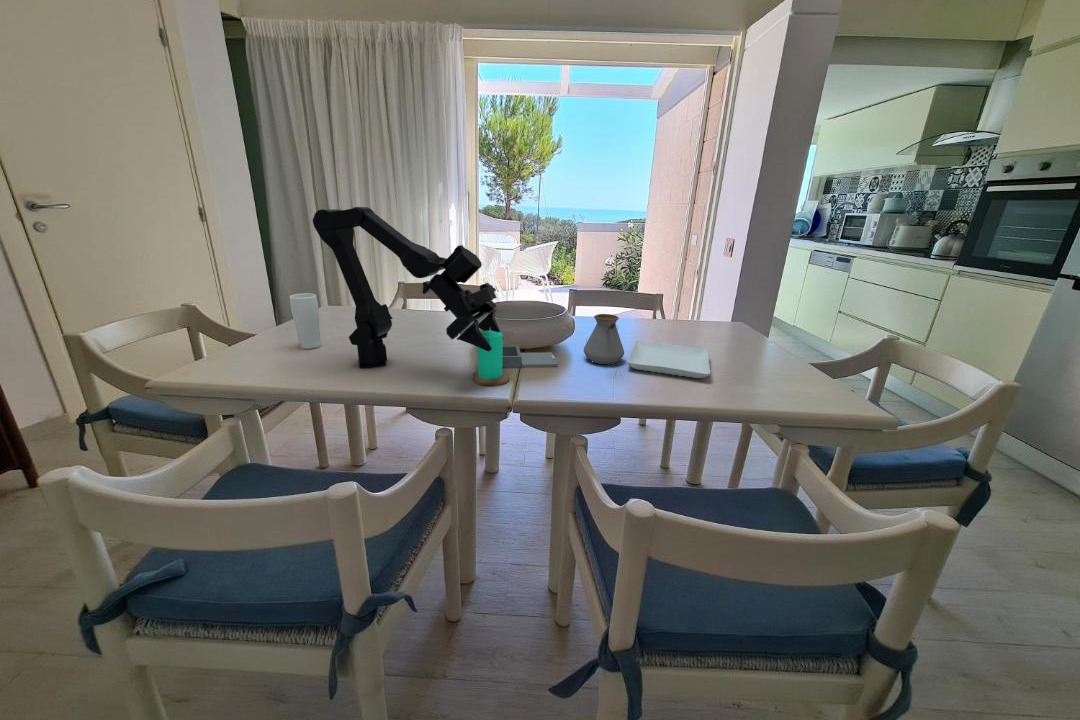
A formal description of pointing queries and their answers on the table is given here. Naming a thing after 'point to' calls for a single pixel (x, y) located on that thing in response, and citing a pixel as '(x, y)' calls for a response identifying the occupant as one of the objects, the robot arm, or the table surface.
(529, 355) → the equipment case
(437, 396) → the table surface
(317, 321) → the drinking glass
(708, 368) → the salad plate
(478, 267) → the robot arm
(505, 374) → the coaster
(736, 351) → the table surface
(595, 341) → the coffee pot
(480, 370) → the candle
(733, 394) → the table surface
